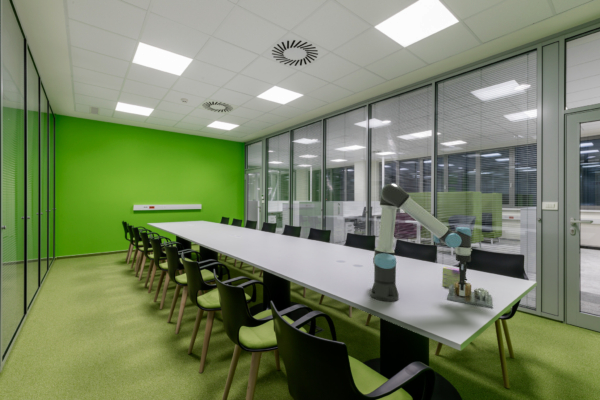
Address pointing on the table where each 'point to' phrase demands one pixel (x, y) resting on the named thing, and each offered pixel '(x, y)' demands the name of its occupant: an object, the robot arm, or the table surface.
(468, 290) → the gear
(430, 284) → the table surface
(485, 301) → the carrier
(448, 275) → the box
